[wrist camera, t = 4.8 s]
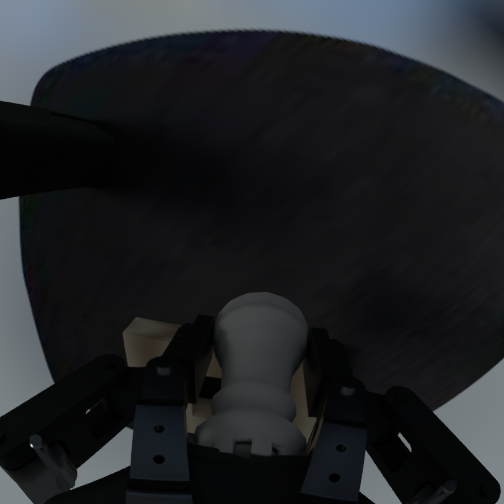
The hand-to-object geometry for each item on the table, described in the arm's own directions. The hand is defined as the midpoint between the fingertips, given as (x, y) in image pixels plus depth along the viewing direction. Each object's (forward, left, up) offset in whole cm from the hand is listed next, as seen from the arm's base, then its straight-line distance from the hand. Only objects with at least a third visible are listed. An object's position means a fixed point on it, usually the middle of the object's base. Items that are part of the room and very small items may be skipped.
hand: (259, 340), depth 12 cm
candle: (+16, -9, -10) cm, 21 cm away
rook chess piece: (0, 0, -1) cm, 1 cm away
